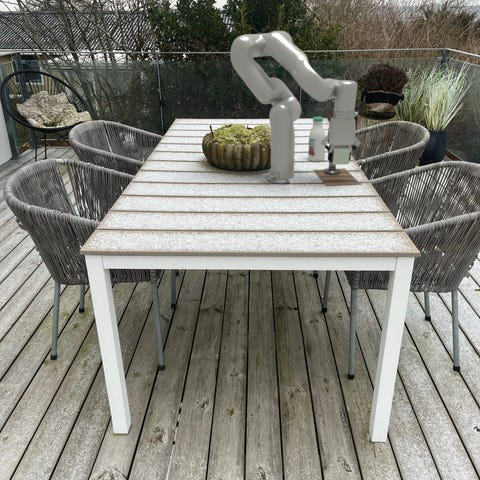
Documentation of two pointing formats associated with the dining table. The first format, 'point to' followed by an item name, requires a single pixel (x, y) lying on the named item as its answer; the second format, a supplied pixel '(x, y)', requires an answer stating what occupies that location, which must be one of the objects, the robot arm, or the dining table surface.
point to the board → (336, 176)
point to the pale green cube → (340, 155)
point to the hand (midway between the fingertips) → (338, 161)
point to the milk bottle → (316, 141)
